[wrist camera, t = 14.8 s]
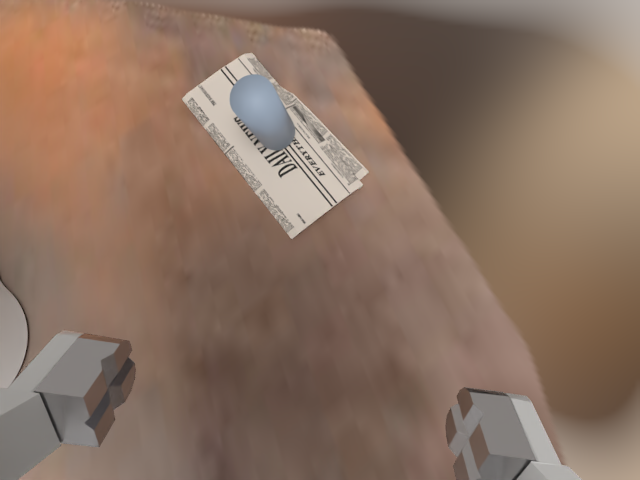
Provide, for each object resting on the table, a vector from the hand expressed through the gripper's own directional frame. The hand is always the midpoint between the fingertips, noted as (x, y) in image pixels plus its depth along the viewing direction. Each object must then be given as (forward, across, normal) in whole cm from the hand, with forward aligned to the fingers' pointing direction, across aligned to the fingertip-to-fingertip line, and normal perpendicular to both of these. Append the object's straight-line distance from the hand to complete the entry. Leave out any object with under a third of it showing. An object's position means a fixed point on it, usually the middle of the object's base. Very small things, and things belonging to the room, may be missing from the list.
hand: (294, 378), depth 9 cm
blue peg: (+37, +6, +5) cm, 38 cm away
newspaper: (+39, +6, +7) cm, 40 cm away
